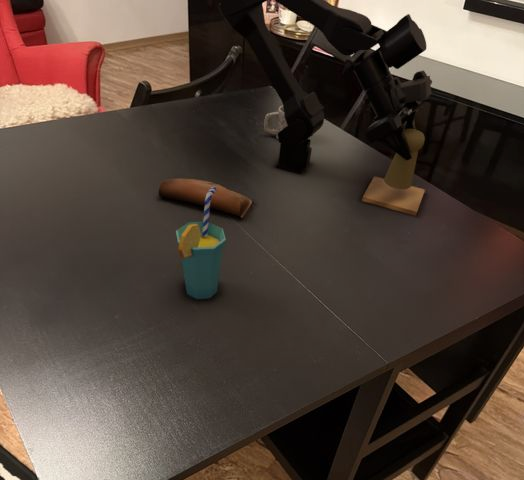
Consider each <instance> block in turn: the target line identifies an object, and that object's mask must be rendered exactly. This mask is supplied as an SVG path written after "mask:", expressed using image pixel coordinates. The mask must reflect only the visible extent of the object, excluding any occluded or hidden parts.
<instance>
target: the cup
mask: <svg viewBox="0 0 524 480" xmlns="http://www.w3.org/2000/svg"><path fill="white" fill-rule="evenodd" d="M215 191H216V188H215V187H212V188H211V189H210V190H209V191H208V192H207V194H206V199H205V206H203V207H204V209H203V221H188V222H187V223H185V224H184V225H183V226H181V227H179V228H178V229H176V230H175V233H176V240H177V245H178V246H177V250H178V253H179V256H180V257H181V263H182V264H181V265H182V269H183V277H184V285H185V290H186V295H188V296H190V297H191V298H193V299H195V300H205V299H208V300H209V299H211V298H212V297H213V296H214V295H215V294H217V292H218V286H219V278H220V272H221V265H222V257H223V251H224V247H225V246H226V243H227V238H226V235H225V231H224V228H223V227H220V226H218V225H216V224H214V223H212V222H209V221H210V212H211V211H210V210H211V208H210V201H211V197H212V195H213V194H214V193H215Z"/></svg>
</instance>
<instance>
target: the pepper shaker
mask: <svg viewBox="0 0 524 480" xmlns="http://www.w3.org/2000/svg"><path fill="white" fill-rule="evenodd" d="M404 134H405V137H406V140H407V143H408V146H409V149H410V152H411V155H412V158H411V159H410V160H406V159H404V158H403V157H401V156H400V155H399V154H397V153H396V152H395V154H394V156H393V158H392V161H391V162H390V165H389V167H388V170H386V171H387V172H386V174H385V176H384V178H383V179H384V182H385V183H386V184H387V185H388V186H390V187H393V188H396V189H408V188H410V187H411V186H412V185H413V179H414V174H415V170H416V165H417V159H418V155H419V151H420V150H421V149H422V148H423V147H424V144H425V139H426V137H425V134H424V133H423V132H422V131H420V130H418V129H416V128H415V129H405V130H404Z"/></svg>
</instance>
